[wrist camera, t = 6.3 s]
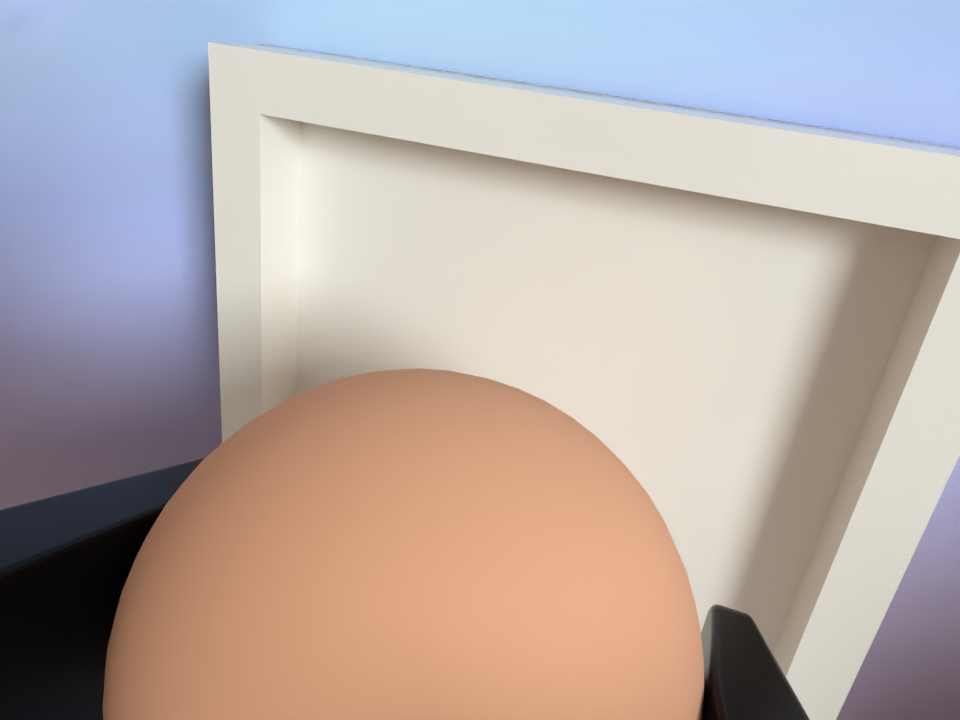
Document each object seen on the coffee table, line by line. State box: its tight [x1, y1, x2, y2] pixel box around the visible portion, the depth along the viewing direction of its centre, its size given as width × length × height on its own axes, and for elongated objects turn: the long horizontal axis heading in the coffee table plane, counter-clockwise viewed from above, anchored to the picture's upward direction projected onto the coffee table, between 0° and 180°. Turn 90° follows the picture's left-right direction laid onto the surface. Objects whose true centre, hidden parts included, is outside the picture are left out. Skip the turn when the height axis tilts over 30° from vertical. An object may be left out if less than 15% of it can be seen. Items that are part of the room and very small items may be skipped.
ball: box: [102, 368, 704, 720], centre depth 7 cm, size 6×6×6 cm
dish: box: [208, 42, 960, 720], centre depth 11 cm, size 10×10×2 cm
